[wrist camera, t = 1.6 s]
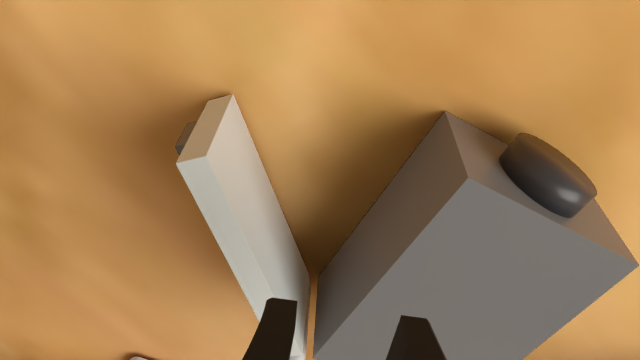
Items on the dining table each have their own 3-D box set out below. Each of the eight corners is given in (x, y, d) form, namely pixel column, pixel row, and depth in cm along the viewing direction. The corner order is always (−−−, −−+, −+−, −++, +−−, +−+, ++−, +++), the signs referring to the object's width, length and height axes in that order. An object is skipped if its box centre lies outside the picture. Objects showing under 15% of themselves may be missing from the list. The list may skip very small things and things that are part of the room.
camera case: (440, 328, 26) (456, 412, 22) (318, 277, 24) (312, 357, 21) (605, 170, 20) (663, 245, 17) (461, 89, 19) (489, 152, 15)
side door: (314, 288, 24) (308, 367, 21) (284, 293, 25) (274, 373, 21) (232, 94, 19) (205, 156, 15) (195, 103, 19) (160, 167, 16)
